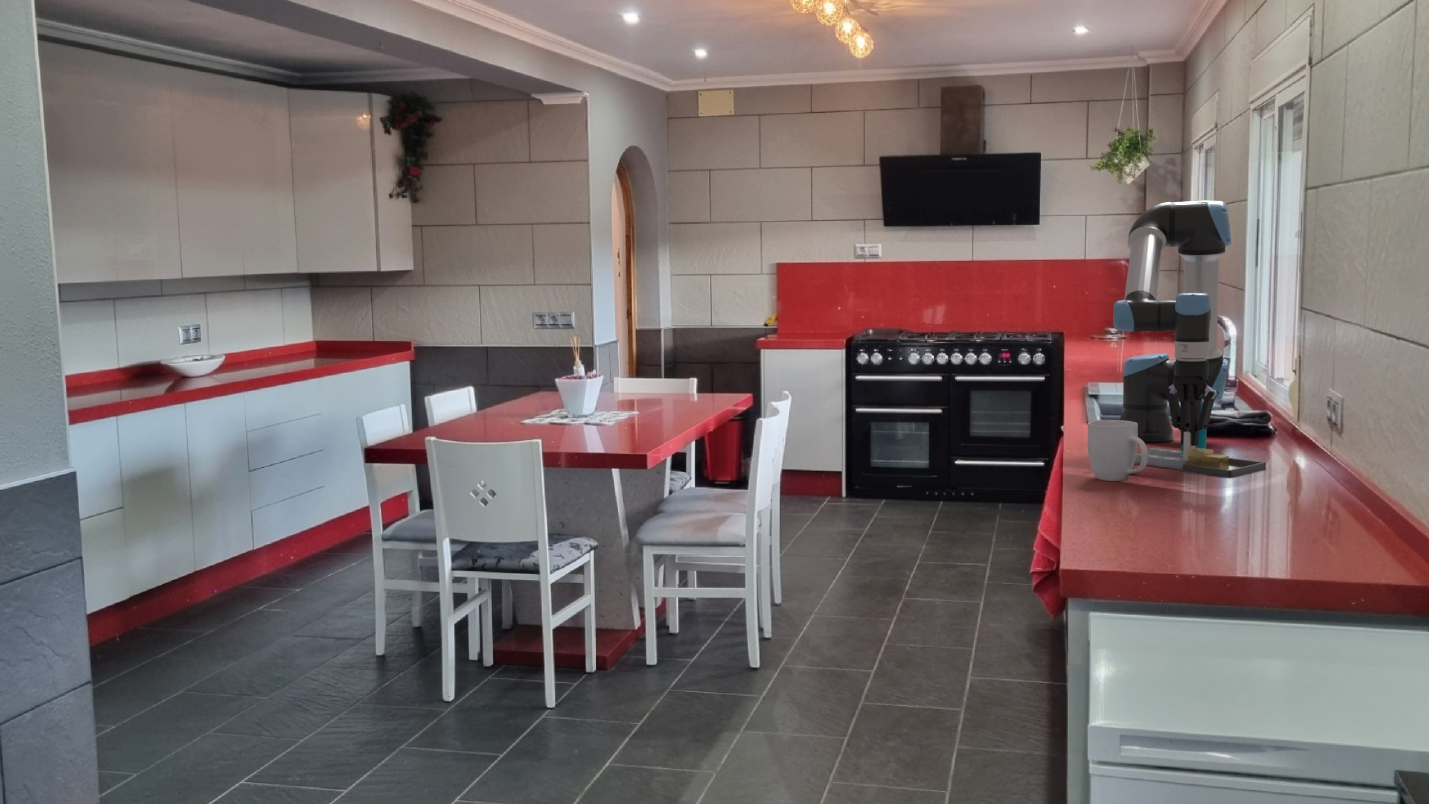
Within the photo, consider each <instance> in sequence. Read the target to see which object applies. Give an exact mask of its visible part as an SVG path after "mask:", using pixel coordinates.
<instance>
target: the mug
mask: <svg viewBox="0 0 1429 804" xmlns="http://www.w3.org/2000/svg"><path fill="white" fill-rule="evenodd" d="M1138 446H1139V449H1140V454H1141V455H1142V459H1141V464H1139V465H1138V467H1136V468H1134V467H1135V464H1136V463H1135V460H1136V455H1137V453H1138ZM1087 454H1088V460H1089V464H1090V467H1091V470H1092V472H1093V475H1094V476H1095V477H1096V479H1098V480H1099V481H1100V480H1101V481H1107V482H1122V481H1126V480H1127V479H1128V478H1129V477H1130V475H1131V474H1136V473H1140V472H1141V471H1143V470H1144V469H1145V468H1146V466H1147V465H1146V464H1147V461H1148V448H1147V445H1146V442H1143V440H1141V439H1140V438H1138V424H1137V423H1136V422H1132V421H1123V420H1120V419H1097V420H1092V421H1088V422H1087Z"/></svg>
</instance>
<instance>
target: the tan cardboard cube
mask: <svg viewBox="0 0 1429 804" xmlns="http://www.w3.org/2000/svg"><path fill="white" fill-rule="evenodd" d="M1229 458H1230V455H1225V454H1216V453H1213V454H1211V455H1206V456H1204V467H1210V468H1217V469H1225V470H1230V465H1229Z"/></svg>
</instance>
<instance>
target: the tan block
mask: <svg viewBox="0 0 1429 804" xmlns="http://www.w3.org/2000/svg"><path fill="white" fill-rule="evenodd" d="M1211 454H1214V449H1210V448H1209V449H1208V448H1206V449H1202V448H1195V449H1190V450H1188V460H1192V462H1191V465H1195V466H1202V467H1204V456H1206V455H1211Z"/></svg>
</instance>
